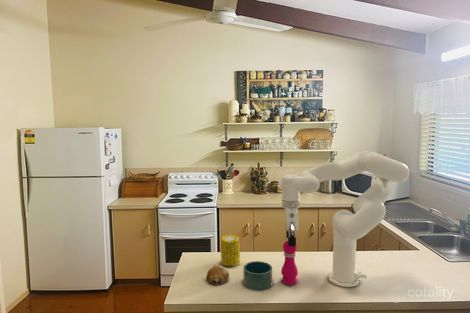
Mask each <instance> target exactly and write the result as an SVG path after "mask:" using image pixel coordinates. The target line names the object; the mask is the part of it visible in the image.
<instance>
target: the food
mask: <svg viewBox="0 0 470 313" xmlns="http://www.w3.org/2000/svg"><path fill="white" fill-rule="evenodd" d="M240 243H241V242H240V237H239V236H238V235H236V234H224V235H222V236H221V237H220V259H221V265H222V266H225V267H237V266H238V265H239V264H240V259H241V252H240V250H241V249H240V248H241V247H240V246H241V245H240Z"/></svg>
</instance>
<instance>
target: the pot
mask: <svg viewBox="0 0 470 313" xmlns="http://www.w3.org/2000/svg"><path fill="white" fill-rule="evenodd" d="M242 270H243V271H242V272H243V274H242V275H243V280H242V282H243V285H244V287H246V288H248V289H250V290H252V291H253V290H254V291H264V290H268V289H269V288H271V287H272V286H273V266H272V265H271V264H270V263H268V262H265V261H261V260H260V261H258V260H256V261H249V262H247V263H245V264H244V265H243V268H242Z"/></svg>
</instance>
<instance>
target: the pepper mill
mask: <svg viewBox="0 0 470 313" xmlns="http://www.w3.org/2000/svg"><path fill="white" fill-rule="evenodd" d="M297 245H298V244H296V246H288V240H286V241H285V242H284V243H283V244H282V249H283V256H284V262H283V264H282V266H281V271H280V273H281V276H282V278H281V279H282V280H281V282H282V283H283V284H284V285H287V286H294V285H296V284H297V282H298V278H297V276H298V274H299V270H298V267H297V265H296V261H295V257H296V251H297V249H298V246H297Z"/></svg>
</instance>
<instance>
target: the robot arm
mask: <svg viewBox="0 0 470 313" xmlns="http://www.w3.org/2000/svg"><path fill="white" fill-rule="evenodd" d="M364 172H367V173H370V174H372V175H375V179H374V180H375V181H374V183H373V184H371V186H370V187H369V188H368V189H366V190H365V191H364V192H363V193H362V194H360V195H359V196H358V197H356V199H355V200H354V201H353V203H352V209H353V211H354V212H355V213H353V212H351V211H350V210H348V209H340V210H337V211H336V212H335V213H334V214H333V215H332V216H333V217H332V221H331V223H332V233H333V234H332V235H333V245H332V272H331V273H329V275H328V280H329V282H331V283H332V284H334V285H336V286H339V287H343V288H353V287H356V286H358V285H359V282H360V279H367V278H368V277H367V276H368V275H367V273H363V272H362V271H356V263H357V262H356V259H357V240H360V239H361V238H364V237H365V236H366V235H367V234H368V233H369V232H370V231H372V230H373V229H374V228H376V226H378V225H379V224H380V223H381V222H383V220H384V219H385V216H386V214H387V209H386V206H385V203H386V202H387V201H388V199H390V198H391V197H392V195H393V193H394V190H395V185H396V184H401V183H404V182H406V181H407V180H408V178H409V177H410V168H409V167H408V166H407V165H406V164H405V163H403V162H400V161H398V160H396V159H392V158H390V157H388V156H385V155H384V154H381V153H378V152H375V151H370V150H361V151H358V152H356V153H353V154H350V155H348V156H346V157H343V158H340V159H338V160H334V161H332V162H327V163H324V164H321V165H317V166H314V167H311V168H309V169H306V170H304V171H301V172H299V174H298V175H297V174H285V175H283V176H282V177H281V207H282V208H283V209H284V222H285V228H286V238H287V241H288V246H296V245H297V236H296V232H298V231H299V211H298V210H299V209H300V207H301V203H300V202H301V197H300V196H301V194H300V193H306V194H307V193H308V194H312V193H315V192H317V191H318V190H319V189H320V186H321V185H320V184H321V183H323V182H327V181H343V180H346V179H349V178H351V177H354V176H356V175H359V174H362V173H364Z"/></svg>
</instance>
